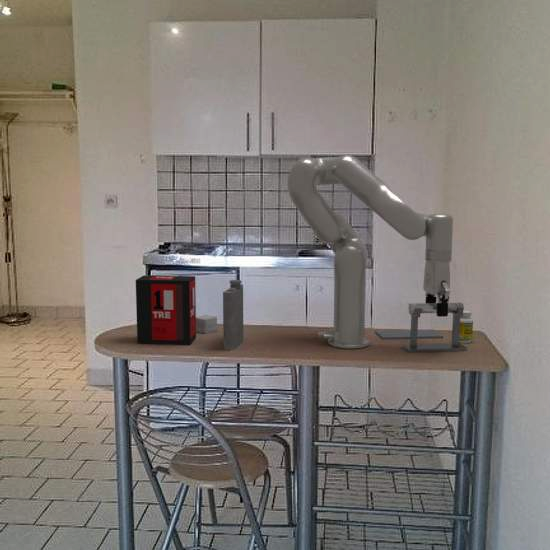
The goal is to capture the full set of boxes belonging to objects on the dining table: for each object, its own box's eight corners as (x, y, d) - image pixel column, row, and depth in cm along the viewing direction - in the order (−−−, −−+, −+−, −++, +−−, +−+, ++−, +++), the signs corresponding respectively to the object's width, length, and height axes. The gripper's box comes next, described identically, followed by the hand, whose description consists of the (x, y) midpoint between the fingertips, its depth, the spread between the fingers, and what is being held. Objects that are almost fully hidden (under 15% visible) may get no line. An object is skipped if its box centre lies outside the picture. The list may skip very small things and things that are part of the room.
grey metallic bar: (411, 314, 189) (411, 304, 189) (408, 312, 192) (408, 302, 192) (463, 313, 191) (464, 303, 191) (459, 311, 194) (460, 301, 194)
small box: (205, 328, 218) (205, 314, 218) (217, 331, 215) (217, 316, 214) (193, 331, 214) (193, 317, 213) (205, 334, 211) (205, 319, 210)
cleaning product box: (196, 338, 205) (195, 276, 202) (190, 345, 196) (189, 280, 193) (145, 336, 206) (143, 275, 203) (137, 343, 198) (135, 279, 195)
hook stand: (408, 352, 189) (410, 309, 188) (402, 346, 195) (403, 304, 193) (466, 350, 191) (469, 307, 189) (459, 345, 197) (461, 303, 195)
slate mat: (382, 339, 204) (382, 337, 204) (375, 332, 213) (375, 330, 213) (443, 337, 207) (443, 336, 206) (433, 331, 215) (433, 329, 215)
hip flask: (234, 337, 206) (234, 276, 203) (247, 338, 205) (246, 276, 202) (222, 350, 190) (221, 284, 187) (235, 351, 190) (235, 284, 187)
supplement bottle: (462, 338, 206) (463, 308, 205) (475, 341, 202) (477, 311, 200) (450, 340, 203) (452, 310, 202) (464, 344, 199) (465, 313, 197)
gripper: (416, 252, 197) (414, 307, 200) (436, 259, 180) (434, 319, 183) (440, 252, 198) (438, 306, 201) (462, 259, 181) (459, 318, 184)
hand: (436, 312), depth 192 cm, fingers open, 9 cm apart
